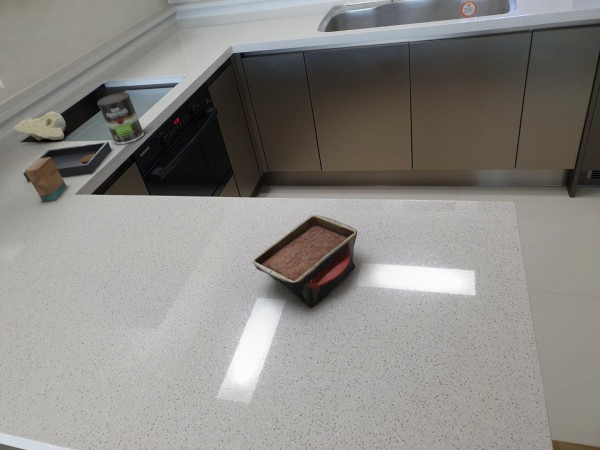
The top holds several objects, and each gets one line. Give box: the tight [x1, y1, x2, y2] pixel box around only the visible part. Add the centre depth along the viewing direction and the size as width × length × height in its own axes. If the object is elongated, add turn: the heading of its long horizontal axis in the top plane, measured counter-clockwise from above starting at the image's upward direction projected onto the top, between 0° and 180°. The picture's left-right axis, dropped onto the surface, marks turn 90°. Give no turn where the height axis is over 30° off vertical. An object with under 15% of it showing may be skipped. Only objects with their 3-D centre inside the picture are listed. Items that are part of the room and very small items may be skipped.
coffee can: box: [96, 92, 145, 145], centre depth 154 cm, size 10×10×14 cm
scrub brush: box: [24, 157, 68, 203], centre depth 129 cm, size 4×7×10 cm, turn 176°
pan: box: [22, 141, 113, 183], centre depth 146 cm, size 22×16×3 cm
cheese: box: [13, 110, 67, 142], centre depth 169 cm, size 15×7×15 cm
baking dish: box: [252, 214, 358, 309], centre depth 84 cm, size 14×18×10 cm
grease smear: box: [81, 154, 95, 164], centre depth 145 cm, size 5×5×1 cm
